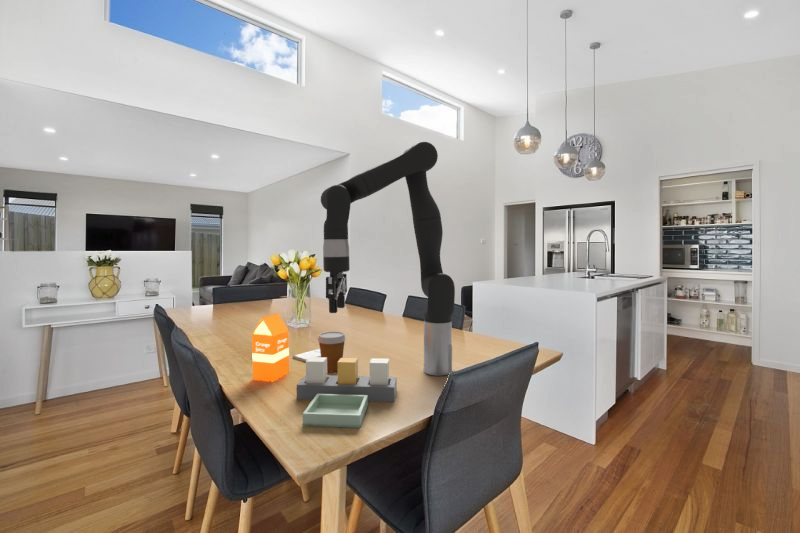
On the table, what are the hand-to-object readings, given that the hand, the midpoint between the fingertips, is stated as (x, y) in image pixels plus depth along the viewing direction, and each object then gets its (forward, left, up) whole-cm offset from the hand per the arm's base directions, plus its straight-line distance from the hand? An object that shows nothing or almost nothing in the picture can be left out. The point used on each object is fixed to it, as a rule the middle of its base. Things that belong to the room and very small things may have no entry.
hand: (337, 310), depth 108 cm
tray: (-4, +18, -23) cm, 30 cm away
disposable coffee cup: (+6, -16, -24) cm, 29 cm away
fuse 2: (-13, +5, -23) cm, 27 cm away
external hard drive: (+17, -30, -24) cm, 42 cm away
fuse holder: (-4, +5, -23) cm, 24 cm away
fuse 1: (+5, +5, -23) cm, 24 cm away
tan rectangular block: (-4, +5, -23) cm, 24 cm away
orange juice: (+24, -8, -24) cm, 35 cm away
